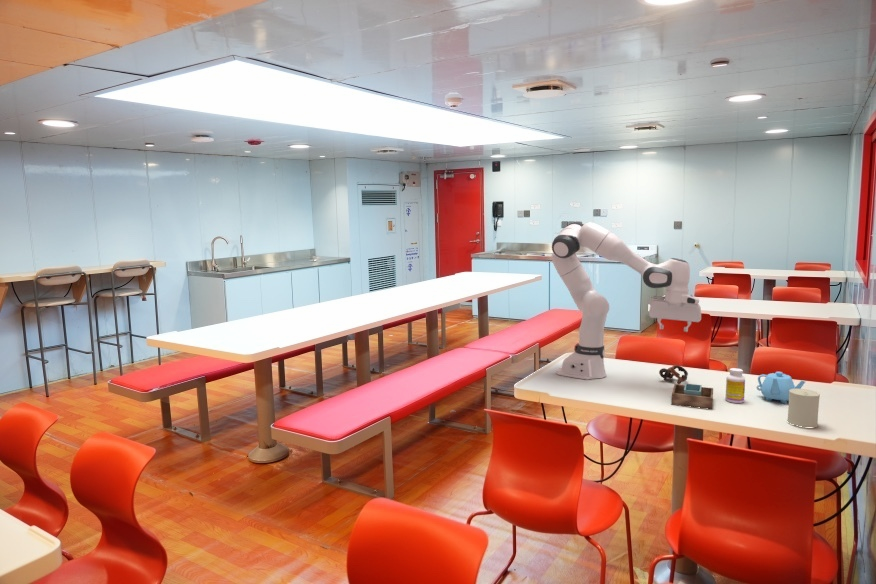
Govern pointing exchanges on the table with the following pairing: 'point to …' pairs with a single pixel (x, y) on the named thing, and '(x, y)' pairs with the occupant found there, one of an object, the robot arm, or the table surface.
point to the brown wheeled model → (674, 373)
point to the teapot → (777, 386)
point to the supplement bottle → (735, 386)
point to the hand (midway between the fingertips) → (673, 330)
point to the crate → (692, 397)
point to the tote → (692, 389)
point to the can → (803, 407)
